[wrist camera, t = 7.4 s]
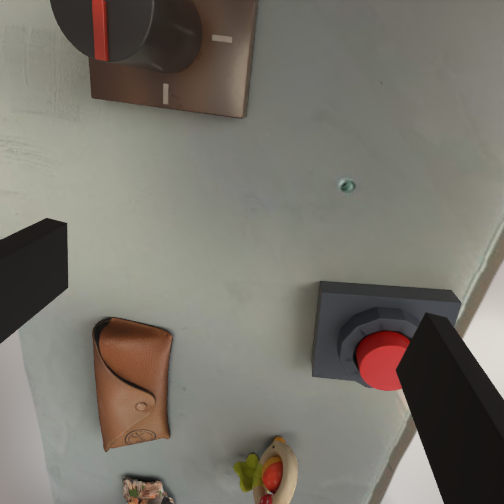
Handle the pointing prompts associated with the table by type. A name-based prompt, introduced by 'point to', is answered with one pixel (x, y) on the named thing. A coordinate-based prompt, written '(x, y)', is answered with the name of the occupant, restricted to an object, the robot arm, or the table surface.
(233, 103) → the knob panel
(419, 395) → the robot arm
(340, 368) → the button box
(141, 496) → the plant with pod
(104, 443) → the sunglasses case
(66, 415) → the table surface
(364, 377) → the button
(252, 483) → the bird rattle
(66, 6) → the dial
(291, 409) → the table surface
